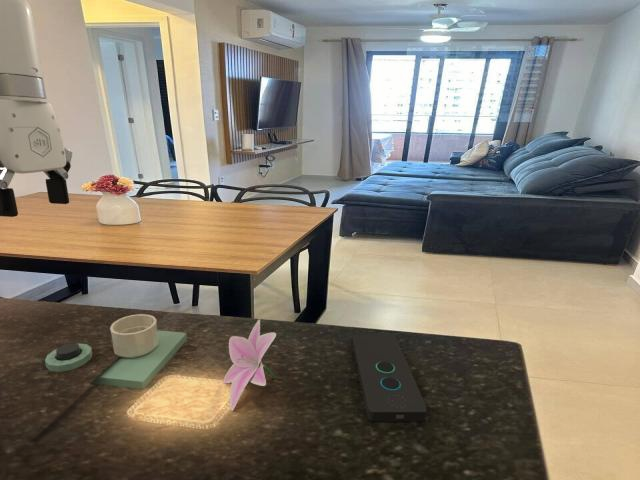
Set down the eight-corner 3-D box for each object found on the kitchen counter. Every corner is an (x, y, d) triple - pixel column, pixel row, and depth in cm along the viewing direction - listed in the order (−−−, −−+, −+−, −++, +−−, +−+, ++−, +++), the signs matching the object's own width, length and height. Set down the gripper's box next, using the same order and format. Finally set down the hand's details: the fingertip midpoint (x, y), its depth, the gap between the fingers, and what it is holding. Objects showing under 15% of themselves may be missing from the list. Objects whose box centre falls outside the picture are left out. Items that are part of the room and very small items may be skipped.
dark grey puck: (52, 360, 58) (51, 352, 57) (67, 349, 60) (66, 342, 60) (70, 362, 57) (69, 354, 57) (85, 351, 60) (83, 343, 60)
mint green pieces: (39, 380, 57) (35, 363, 56) (103, 331, 71) (100, 317, 70) (142, 391, 55) (140, 374, 54) (187, 339, 69) (186, 324, 68)
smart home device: (368, 411, 50) (350, 333, 70) (367, 422, 51) (350, 341, 70) (429, 411, 51) (395, 333, 70) (428, 421, 51) (394, 341, 70)
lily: (236, 362, 65) (206, 327, 59) (300, 341, 63) (276, 302, 58) (229, 431, 55) (193, 397, 49) (305, 408, 53) (276, 369, 48)
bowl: (104, 357, 61) (100, 332, 59) (129, 335, 67) (126, 312, 66) (144, 361, 60) (141, 336, 59) (166, 339, 66) (163, 315, 65)
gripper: (-23, 84, 45) (6, 223, 50) (81, 96, 62) (95, 200, 67) (-79, 83, 46) (-45, 220, 51) (39, 95, 63) (56, 198, 67)
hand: (35, 209), depth 59 cm, fingers open, 9 cm apart
